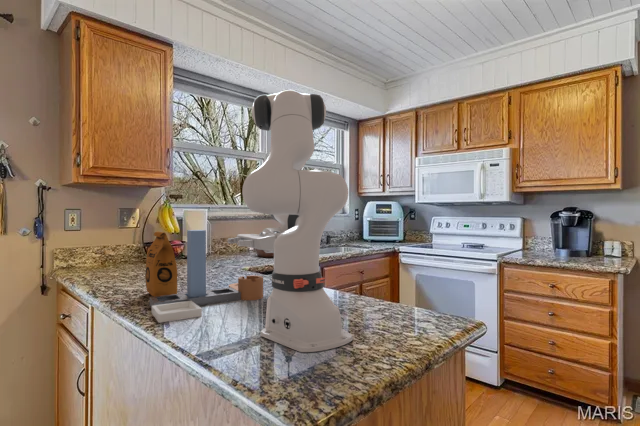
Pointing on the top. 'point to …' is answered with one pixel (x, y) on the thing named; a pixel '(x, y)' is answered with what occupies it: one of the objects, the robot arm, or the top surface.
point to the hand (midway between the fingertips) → (233, 242)
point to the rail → (199, 297)
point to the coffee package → (161, 267)
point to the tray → (176, 311)
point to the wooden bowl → (264, 253)
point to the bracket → (249, 287)
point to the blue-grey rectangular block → (196, 263)
